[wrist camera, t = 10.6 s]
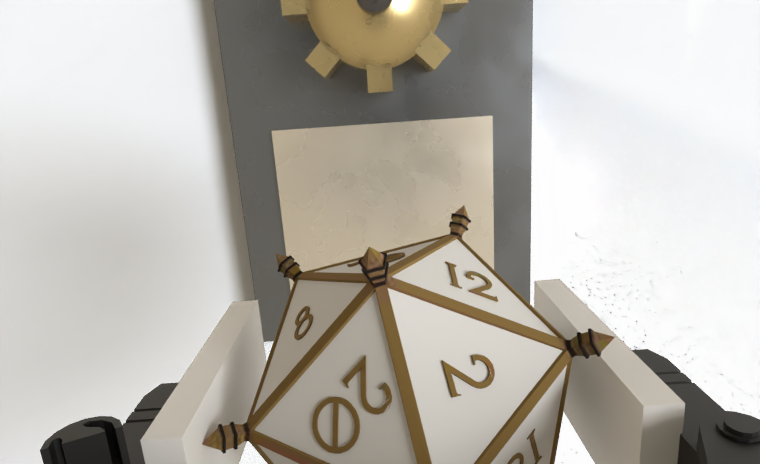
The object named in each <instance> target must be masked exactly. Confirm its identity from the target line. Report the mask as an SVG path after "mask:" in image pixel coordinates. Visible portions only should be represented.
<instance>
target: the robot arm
mask: <svg viewBox="0 0 760 464" xmlns="http://www.w3.org/2000/svg"><path fill="white" fill-rule="evenodd" d="M534 309H535V310H537V311H538V312H539V313H540V314H541V315H542V316H543V317H544V318H545V319H546V320H547V321H548V322H549V323H550V324H551V325H552V326H553V327H554V328H555V329H556V330H557V331H558V332H559V333H561V334H562V335H563V336H564V337H565V338H566V339H567V340H571V339H572V338H574V337H575V336H577V332H580V333H585V332H588V329H589V328H591V329H592V330H593V331H595V332H598V333H602V334H606V335H610V336H613V337H615V338H614V339H613V340H612V341H611V342H610V343H609V344H608V345H607V346H606V348H605V349H604V350H603V351H602V352H601V356H600V357H598V356H597V355H591V356H589V358H588V359H586V358H585V357H584V356H575V357H573V358H572V364H571V370H570V376H569V381H568V387H567V393H566V399H565V404H564V410H563V411H564V413H565V414H566V416H567V418H568V419H569V421H570V423H571V424H572V426H573V427H574V429H575V431H576V432H577V434H578V436H579V437H580V439H581V441H582V442H583V444H584V446H585V447H586V449H587V451H588V452H589V454H590V456H591V457H592V459H593V461H594V462H595V464H760V420H759V419H757V418H754V417H752V416H750V415H746V414H741V413H737V412H731V411H725V410H723V409H722V408H721V407H720V406H719V405H718V404H717V403H716V402H715V401H713V400H712V399H711V398H710V397H709V396H708V395H707V394H706V393H705V392H703V391H702V390H701V389H700V388H699V387H698V386H697V385H696V384H694V383H691V380H690V379H689V378H688V377H687V376H686V375H684V374H683V373H681V372H680V370H679V369H678V368H677V367H676V366H674V365H673V364H672V363H671V362H670V361H669V360H668V359H666V358H664V357H662V356H660V355H658V354H656V353H654V352H652V351H650V350H648V349H644V350H631V349H630V348H629V347H628V346H627V345H626V344H625V343H624V342H623V341H622V340H621V339H620V338H619V337H618V336H617V335H616V334H615V333H614V332H613V331H611V330H610V329H609V328H608V327H607V326H606V325H605V324H604V323H603V322H602V321H601V320H600V319H599V318H598V317H597V316H596V315H595V314H594V313H593V312H592V311H591V310H590V309H589V308H588V307H587V306H586V305H585V304H584V303H583V302H582V301H581V300H580V299H579V298H578V297H577V296H576V295H575V294H574V293H573V292H572V291H571V290H570V289H569V288H568V287H567V286H566V285H565V284H564V283H563V282H562V281H561V280H560V279H556V280H541V281H535V295H534ZM265 366H266V356H265V349H264V341H263V334H262V327H261V319H260V312H259V305H258V300H249V301H235V302H232V304H231V305H230V307H229V308H228V310H227V311H226V313H225V314H224V316H223V317H222V319H221V320H220V322H219V323H218V325H217V326H216V328H215V329H214V331H213V332H212V334H211V335H210V337H209V338H208V340H207V341H206V343H205V344H204V346H203V347H202V349H201V350H200V352H199V353H198V355H197V356H196V358H195V359H194V361H193V362H192V364H191V365H190V367H189V368H188V370H187V371H186V373H185V374H184V376H183V377H182V379H181V380H180V382H179V383H167V384H161V385H159V386H158V387H156V388H155V389H154V390H152V391H151V392H149V393H148V394H147V395H145V396H144V397H143V399H142V400H141V401H140V403H139V404H138V405H137V407H136V408H135V409H134V412H132V413H131V415H130V416H129V417H128V419H127V420H126V423H124V424H123V425H122V424H121V422H120V420H118V419H116V418H113V417H106V416H98V417H93V418H88V419H84V420H81V421H78V422H75V423H73V424H70V425H68V426H66V427H64V428H63V429H61V430H59V431H57V432H56V433H54V434H53V435H52V436H51V437H50V438H49V439H47V440H46V441H45V443H44V444H43V446H42V448H41V450H40V452H41V455H42V459H43V463H44V464H239V461H240V459H241V456H242V453H243V450H244V447H245V445H246V442H247V441H245V442H243V443H242V444H240V445H238V449H236V450H235V449H234V448H231V449H228V450H226V453H224V454H223V453H222V451H221V450H218V449H215V448H211V447H208V446H205V445H202V443H203V442H204V441H205V440H206V439H207V438H208V437H209V436H210V435H211V434H212V433H213V432H214V431H215V430H216V429H217V428H218V425H219V424H222V426H225V425H230V422H234V424H242V425H243V424H244V423H246V422H247V419H248V416H249V413H250V410H251V407H252V405H253V402H254V399H255V396H256V393H257V390H258V387H259V384H260V381H261V378H262V375H263V372H264V369H265Z"/></svg>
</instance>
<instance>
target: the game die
mask: <svg viewBox="0 0 760 464" xmlns="http://www.w3.org/2000/svg"><path fill="white" fill-rule="evenodd" d="M451 219H452V222H450V224H449V227H450V234H448V235H444V236H440V237H436V238H433V239H429V240H425V241H421V242H417V243H413V244H409V245H405V246H402V247H398V248H394V249H390V250H386V251H382V252H378V251H376V250H375V249H373V248H371V247H368V249H367V251H366V253H365V254H364V256H363V257H359V258H355V259H351V260H347V261H344V262H340V263H336V264H332V265H328V266H324V267H320V268H317V269H313V270H309V271H305V272H302V271H301V270H300V268H299V266H300V265H299V264H298V263H297V262H294V260H295V259H294V258H293V257H292V256H291V255H290V256H284V255H280V254H276V257H277V263H278V270H277V271H278V272H282V273H283V274H284V276H283V277H284V278H286V277H288V278H290V279H292V280H293V282H294V284H293V287H292V290H291V292H290V295H289V298H288V301H287V304H286V307H285V310H284V313H283V316H282V319H281V322H280V325H279V328H278V331H277V334H276V337H275V340H274V343H273V346H272V349H271V351H270V354H269V357H268V360H267V363H266V366H265V369H264V372H263V375H262V378H261V381H260V384H259V387H258V390H257V393H256V396H255V399H254V402H253V405H252V407H251V410H250V413H249V416H248V419H247V422H246V423H244V424H243V425H242V424H234V422H230V425H225V426H222V424H219V425H218V428H217V429H216V430H215V431H214V432H213V433H212V434H211V435H210V436H209V437H208V438H207V439H206V440H205V441H204V442H203V443H202V445H205V446H208V447H211V448H215V449H218V450H221V451H222V453H223V454H224V453H226V450H228V449H231V448H234V449H235V450H236V449H238V445H240V444H242V443H243V442H245V441H249V442H250V443H251V444H252V445H253V446H254V448H255V449H256V450H257V451H258V452H259V454H260V455H261V456H262V457H263V458H264V460H265V461H266V462H267V463H268V464H554V462H555V456H556V450H557V444H558V439H559V433H560V427H561V421H562V416H563V410H564V404H565V399H566V393H567V387H568V381H569V376H570V370H571V364H572V358H573V357H575V356H584V357H585V358H586V359H588V358H589V356H591V355H597V356H598V357H600V356H601V352H602V351H603V350H604V349H605V348H606V346H607V345H608V344H609V343H610V342H611V341H612V340H613V339H614V338H615V337H613V336H610V335H606V334H602V333H598V332H595V331H593V330H592V329H591V328H589V329H588V332H585V333H580V332H577V336H575V337H574V338H572V339H571V340H567V339H566V338H565V337H564V336H563V335H562V334H561V333H559V332H558V331H557V330H556V329H555V328H554V327H553V326H552V325H551V324H550V323H549V322H548V321H547V320H546V319H545V318H544V317H543V316H542V315H541V314H540V313H539V312H538V311H537V310H535V309H534V308H533V307H532V306H531V305H530V304H529V303H528V302H527V301H526V300H525V299H524V298H523V297H522V296H521V295H520V294H519V293H518V292H517V291H516V290H515V289H514V288H512V287H511V286H510V285H509V284H508V283H507V282H506V281H505V280H504V279H503V278H502V277H501V276H500V275H499V274H498V273H497V272H496V271H495V270H494V269H493V268H492V267H491V266H489V265H488V264H487V263H486V262H485V261H484V260H483V259H482V258H481V257H480V256H479V255H478V254H477V253H476V252H475V251H474V250H473V249H472V248H471V247H470V246H469V245H468V244H467V243H465V242H464V241H463V240H462V235H463V234H464V232H465V231H468V228H467V226H468V223H471V220H470V219H469V218H468V215H467V212H466V209H465V206H464V205H463V206H462V207H461V208H460V209H459V210H458V211H456V212H455V213H452V215H451Z"/></svg>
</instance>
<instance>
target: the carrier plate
mask: <svg viewBox="0 0 760 464" xmlns="http://www.w3.org/2000/svg"><path fill="white" fill-rule="evenodd" d="M214 5H215V12H216V19H217V26H218V34H219V41H220V48H221V55H222V62H223V70H224V77H225V84H226V91H227V98H228V105H229V113H230V120H231V127H232V134H233V141H234V149H235V156H236V163H237V170H238V177H239V185H240V192H241V199H242V206H243V213H244V221H245V228H246V235H247V242H248V249H249V256H250V264H251V271H252V278H253V285H254V292H255V300H258V305H259V312H260V319H261V327H262V334H263V341H264V342H266V341H274V340H275V337H276V334H277V331H278V328H279V325H280V322H281V319H282V316H283V313H284V310H285V307H286V304H287V301H288V298H289V295H290V292H291V290H292V287H293V284H294V282H293V280H292V279H290V278H288V277H286V278H284V277H283V276H284V274H283V273H282V272H278V271H277V270H278V263H277V257H276V254H280V255H284V256H290V255H291V256H292V257H293V258H294V259H295V260H294V262H297V263H298V264H299V265H300V266H299V268H300V270H301V271H302V272H305V271H309V270H313V269H317V268H320V267H324V266H328V265H332V264H336V263H340V262H344V261H347V260H351V259H355V258H359V257H363V256H364V254H365V253H366V251H367V249H368V247H371V248H373V249H375V250H376V251H378V252H382V251H386V250H390V249H394V248H398V247H402V246H405V245H409V244H413V243H417V242H421V241H425V240H429V239H433V238H436V237H440V236H444V235H448V234H450V227H449V224H450V222H452V219H451V215H452V213H455V212H456V211H458V210H459V209H460V208H461V207H462V206H463V205H464V206H465V209H466V212H467V215H468V218H469V219H470V220H471V223H468V226H467V228H468V231H465V232H464V234H463V235H462V240H463V241H464V242H465V243H467V244H468V245H469V246H470V247H471V248H472V249H473V250H474V251H475V252H476V253H477V254H478V255H479V256H480V257H481V258H482V259H483V260H484V261H485V262H486V263H487V264H488V265H489V266H491V267H492V268H493V269H494V270H495V271H496V272H497V273H498V274H499V275H500V276H501V277H502V278H503V279H504V280H505V281H506V282H507V283H508V284H509V285H510V286H511V287H512V288H514V289H515V290H516V291H517V292H518V293H519V294H520V295H521V296H522V297H523V298H524V299H525V300H526V301H527V302H528V303H529V304H530V243H531V137H532V30H533V0H214Z"/></svg>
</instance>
